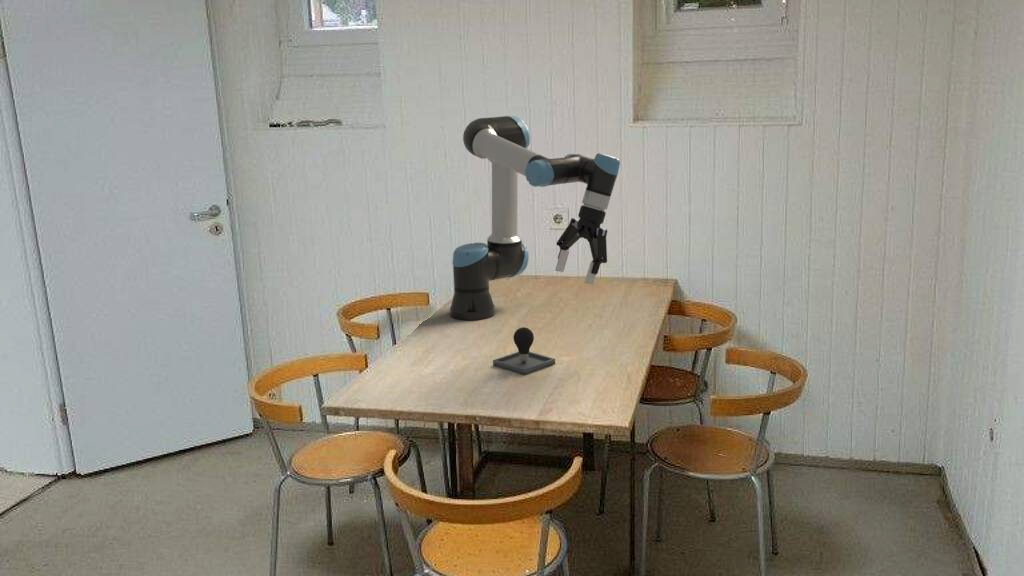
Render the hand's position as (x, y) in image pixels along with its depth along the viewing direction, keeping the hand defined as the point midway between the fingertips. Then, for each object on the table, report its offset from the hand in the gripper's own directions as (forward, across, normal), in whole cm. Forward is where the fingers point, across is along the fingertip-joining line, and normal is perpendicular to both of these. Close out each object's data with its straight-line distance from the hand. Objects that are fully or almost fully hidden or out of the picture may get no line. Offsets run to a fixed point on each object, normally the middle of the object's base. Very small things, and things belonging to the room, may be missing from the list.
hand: (573, 277), depth 266 cm
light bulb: (+25, -8, +17) cm, 31 cm away
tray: (+25, -9, +17) cm, 31 cm away
